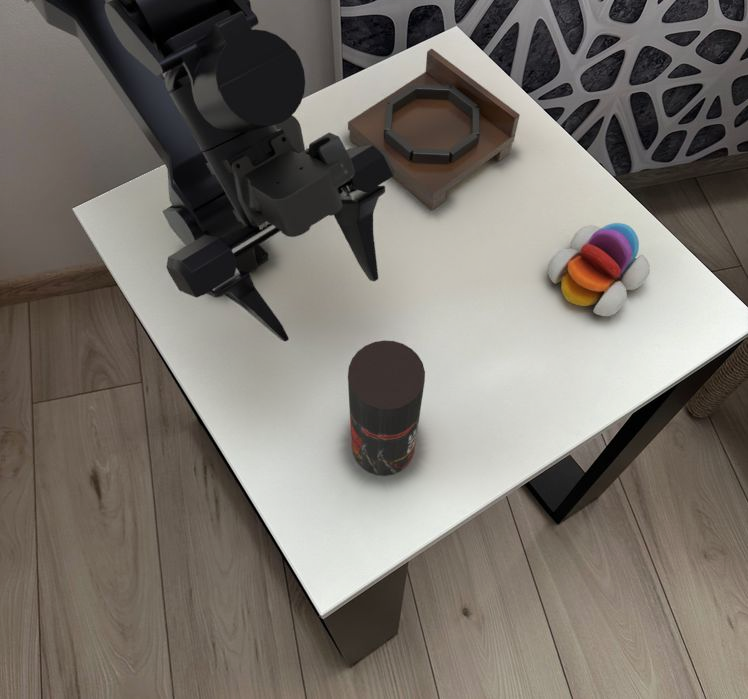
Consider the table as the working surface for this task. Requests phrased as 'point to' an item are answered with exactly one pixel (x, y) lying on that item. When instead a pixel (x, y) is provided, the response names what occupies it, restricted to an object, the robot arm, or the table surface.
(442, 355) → the table surface
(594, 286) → the rainbow disc toy
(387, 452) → the deodorant
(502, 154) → the shelf
